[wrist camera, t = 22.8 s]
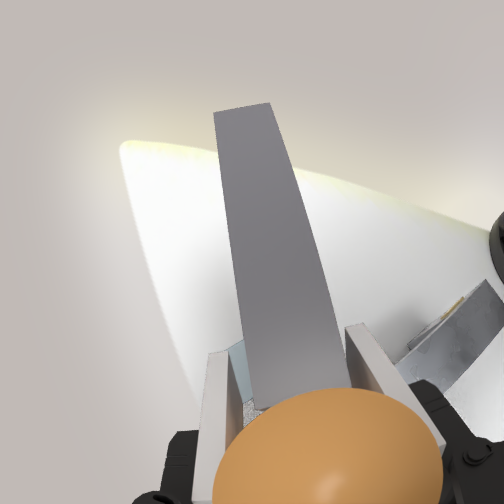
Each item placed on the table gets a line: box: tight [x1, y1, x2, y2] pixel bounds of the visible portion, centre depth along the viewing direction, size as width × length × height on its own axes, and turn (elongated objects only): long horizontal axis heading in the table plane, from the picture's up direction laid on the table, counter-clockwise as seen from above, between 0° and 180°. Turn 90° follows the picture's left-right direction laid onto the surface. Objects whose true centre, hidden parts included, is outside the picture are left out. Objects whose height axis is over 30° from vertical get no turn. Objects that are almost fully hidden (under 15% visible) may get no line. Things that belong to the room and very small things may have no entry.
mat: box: [225, 339, 253, 404], centre depth 33 cm, size 6×6×1 cm
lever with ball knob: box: [212, 103, 443, 504], centre depth 12 cm, size 4×18×10 cm, turn 9°
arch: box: [394, 279, 504, 394], centre depth 25 cm, size 14×4×13 cm, turn 121°
